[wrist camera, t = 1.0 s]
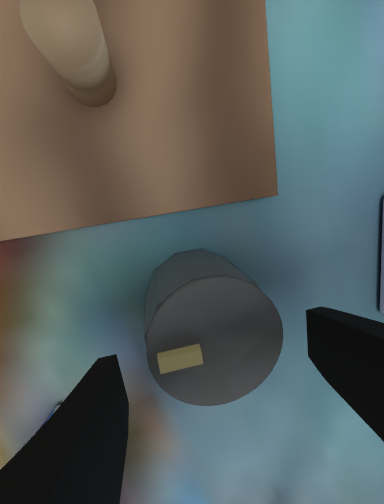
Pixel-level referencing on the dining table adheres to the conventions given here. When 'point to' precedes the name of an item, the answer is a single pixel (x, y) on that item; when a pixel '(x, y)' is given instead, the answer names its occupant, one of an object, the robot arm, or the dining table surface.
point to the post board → (131, 110)
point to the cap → (209, 329)
